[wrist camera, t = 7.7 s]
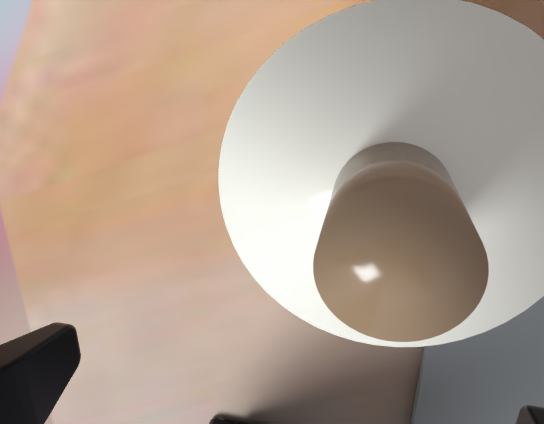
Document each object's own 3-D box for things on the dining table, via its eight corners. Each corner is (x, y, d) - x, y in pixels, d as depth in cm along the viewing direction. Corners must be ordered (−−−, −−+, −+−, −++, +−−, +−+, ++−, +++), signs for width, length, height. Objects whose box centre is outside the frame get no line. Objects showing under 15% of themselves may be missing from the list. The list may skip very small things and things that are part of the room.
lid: (539, 351, 13) (616, 504, 9) (233, 310, 15) (177, 418, 11) (646, -8, 9) (869, -41, 5) (218, 2, 12) (122, -15, 7)
